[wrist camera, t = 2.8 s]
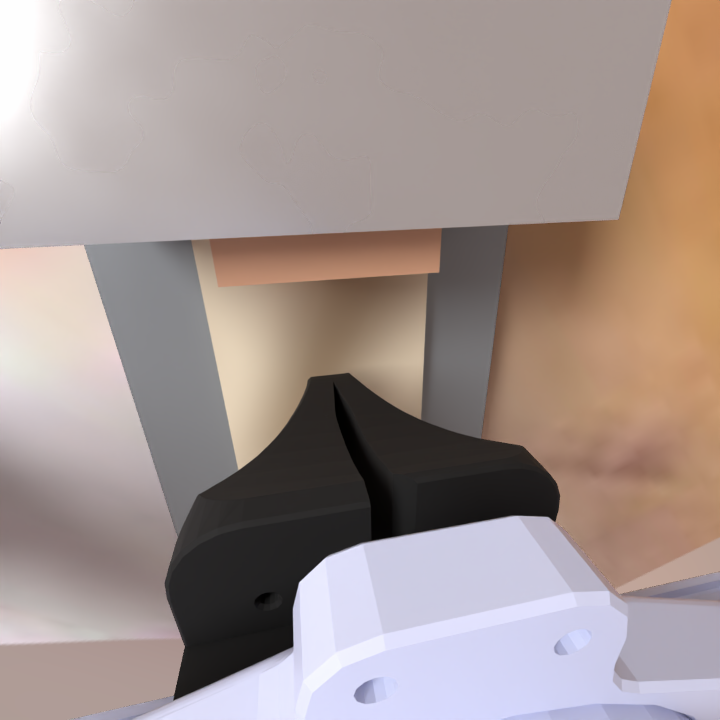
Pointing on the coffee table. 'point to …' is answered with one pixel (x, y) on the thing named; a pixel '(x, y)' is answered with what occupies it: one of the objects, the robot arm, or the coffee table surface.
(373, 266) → the block
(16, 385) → the coffee table surface
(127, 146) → the tunnel
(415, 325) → the sled
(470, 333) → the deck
